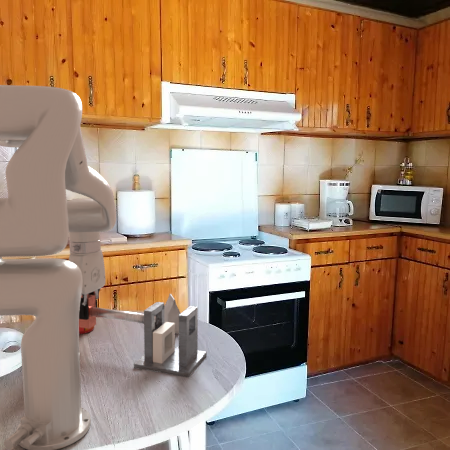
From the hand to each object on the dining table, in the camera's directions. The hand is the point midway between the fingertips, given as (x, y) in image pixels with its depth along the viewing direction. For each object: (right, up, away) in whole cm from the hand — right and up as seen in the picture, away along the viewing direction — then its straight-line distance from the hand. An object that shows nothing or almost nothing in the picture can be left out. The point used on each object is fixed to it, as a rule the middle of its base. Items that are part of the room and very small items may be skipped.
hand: (87, 315), depth 111 cm
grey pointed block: (+20, -7, +15) cm, 26 cm away
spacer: (+21, -5, -6) cm, 22 cm away
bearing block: (+23, -10, -6) cm, 25 cm away
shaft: (+9, -3, -2) cm, 9 cm away
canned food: (-6, -7, +14) cm, 17 cm away
